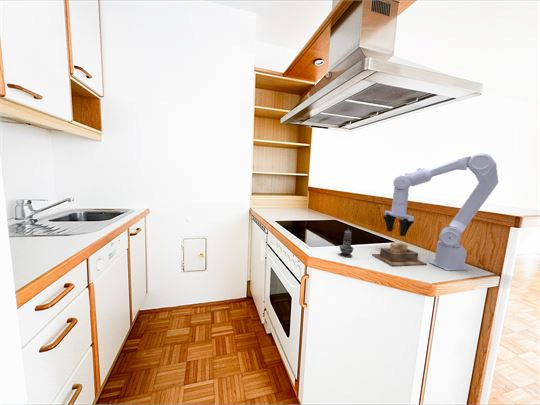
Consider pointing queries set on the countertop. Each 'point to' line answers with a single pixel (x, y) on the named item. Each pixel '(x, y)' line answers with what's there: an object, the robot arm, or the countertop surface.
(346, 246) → the grey stone statuette
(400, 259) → the brown flanged tray
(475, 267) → the countertop surface
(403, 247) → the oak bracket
